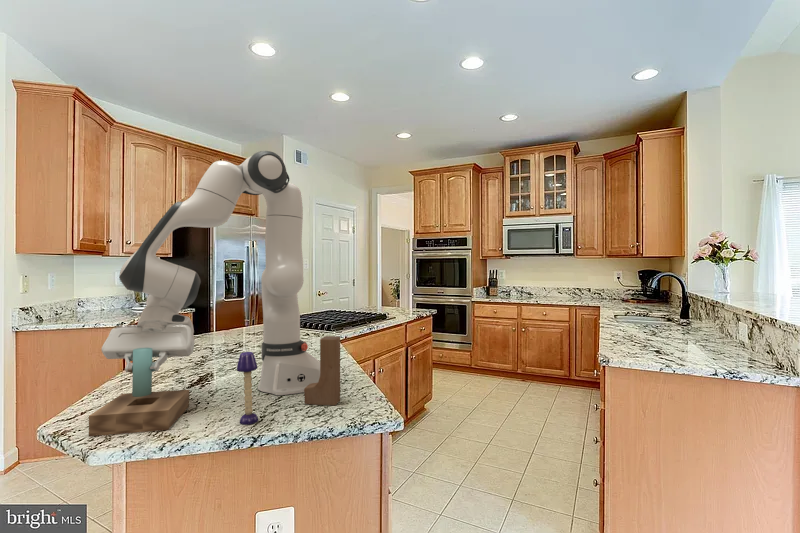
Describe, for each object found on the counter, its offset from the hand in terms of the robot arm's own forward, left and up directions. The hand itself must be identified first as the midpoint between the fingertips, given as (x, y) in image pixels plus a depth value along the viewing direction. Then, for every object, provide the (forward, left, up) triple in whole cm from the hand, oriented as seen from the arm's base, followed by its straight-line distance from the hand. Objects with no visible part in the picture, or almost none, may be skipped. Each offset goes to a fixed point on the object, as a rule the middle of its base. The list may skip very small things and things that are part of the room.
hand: (141, 370), depth 97 cm
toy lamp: (-25, +6, -12) cm, 29 cm away
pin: (0, -1, -6) cm, 6 cm away
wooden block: (-43, -4, -12) cm, 45 cm away
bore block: (0, -1, -12) cm, 12 cm away
